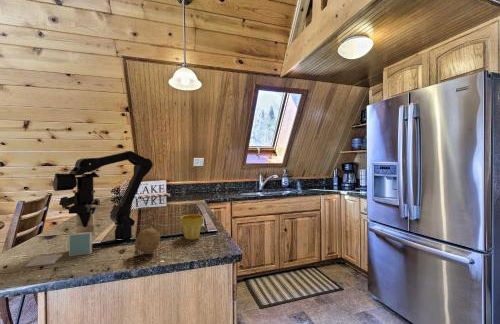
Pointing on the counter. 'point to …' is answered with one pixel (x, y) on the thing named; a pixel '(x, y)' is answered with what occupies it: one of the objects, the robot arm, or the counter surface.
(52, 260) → the rest mat
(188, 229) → the plant pot
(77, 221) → the tan upright block
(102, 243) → the counter surface
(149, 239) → the natural sponge
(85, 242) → the tile
